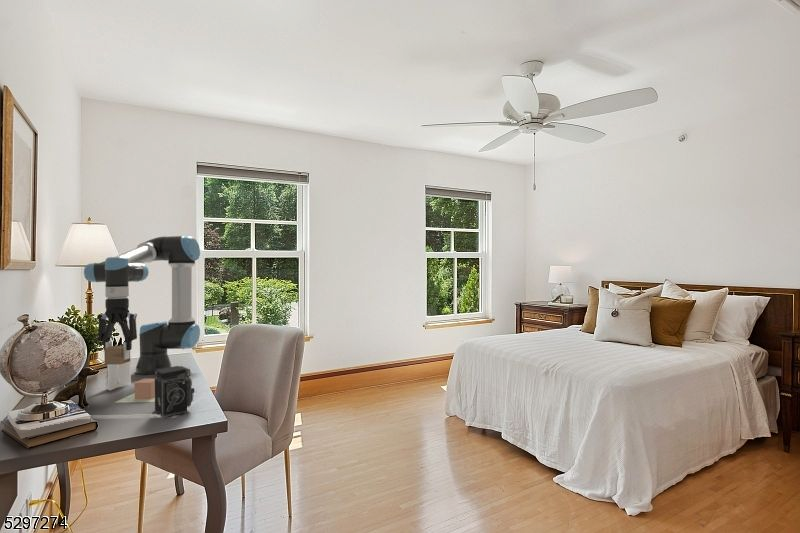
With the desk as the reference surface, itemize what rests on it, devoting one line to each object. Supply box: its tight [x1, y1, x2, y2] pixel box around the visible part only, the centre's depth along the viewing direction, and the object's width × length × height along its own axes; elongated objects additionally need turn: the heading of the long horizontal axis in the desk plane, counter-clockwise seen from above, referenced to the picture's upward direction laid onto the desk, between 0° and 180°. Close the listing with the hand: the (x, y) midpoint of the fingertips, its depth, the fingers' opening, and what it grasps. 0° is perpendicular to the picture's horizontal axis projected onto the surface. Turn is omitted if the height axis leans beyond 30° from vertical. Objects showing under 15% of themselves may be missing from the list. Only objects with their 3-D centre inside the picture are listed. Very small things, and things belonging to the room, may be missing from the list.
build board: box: [114, 392, 155, 404], centre depth 169 cm, size 14×16×1 cm
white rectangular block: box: [106, 359, 132, 391], centre depth 186 cm, size 12×8×12 cm
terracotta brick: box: [134, 378, 155, 399], centre depth 169 cm, size 6×6×6 cm
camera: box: [154, 365, 195, 418], centre depth 154 cm, size 10×10×15 cm
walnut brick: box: [103, 345, 131, 366], centre depth 172 cm, size 6×6×6 cm
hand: (117, 358), depth 172 cm, fingers closed on walnut brick, 6 cm apart
